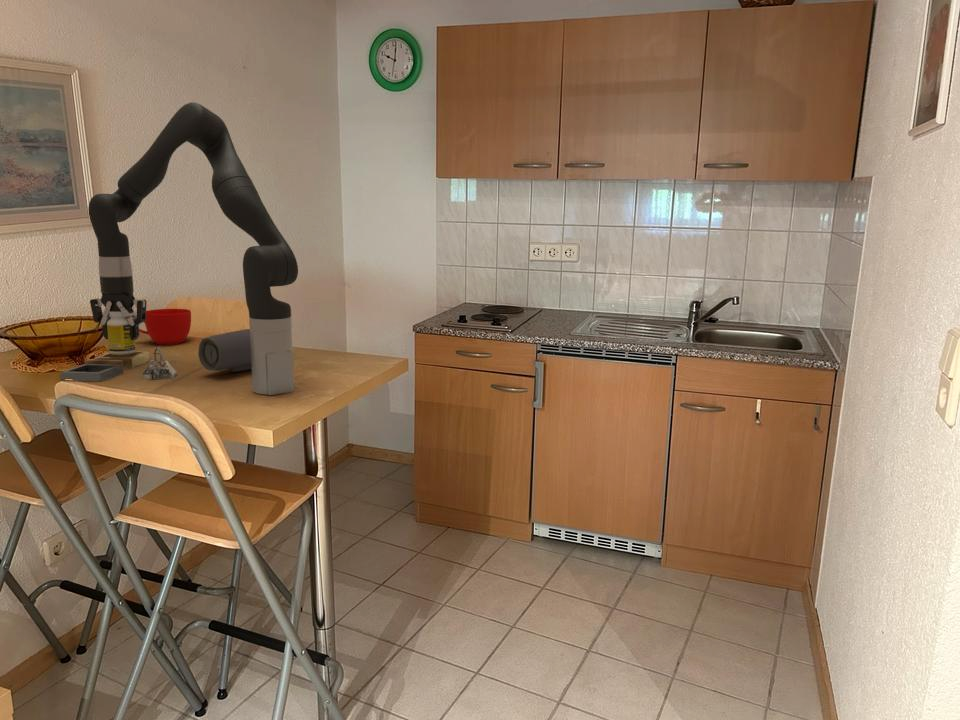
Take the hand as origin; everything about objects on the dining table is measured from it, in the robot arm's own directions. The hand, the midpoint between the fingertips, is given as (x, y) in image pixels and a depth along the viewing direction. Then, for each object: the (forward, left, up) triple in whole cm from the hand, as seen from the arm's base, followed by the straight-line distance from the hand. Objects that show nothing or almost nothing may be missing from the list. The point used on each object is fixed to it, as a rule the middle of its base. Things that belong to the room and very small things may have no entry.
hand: (121, 339), depth 186 cm
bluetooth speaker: (-23, -24, -7) cm, 34 cm away
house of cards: (-22, -1, -7) cm, 23 cm away
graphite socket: (-11, +10, -7) cm, 16 cm away
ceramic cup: (+23, -17, -7) cm, 29 cm away
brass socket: (0, 0, -7) cm, 7 cm away
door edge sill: (-5, +6, -7) cm, 10 cm away
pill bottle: (0, 0, -4) cm, 4 cm away
